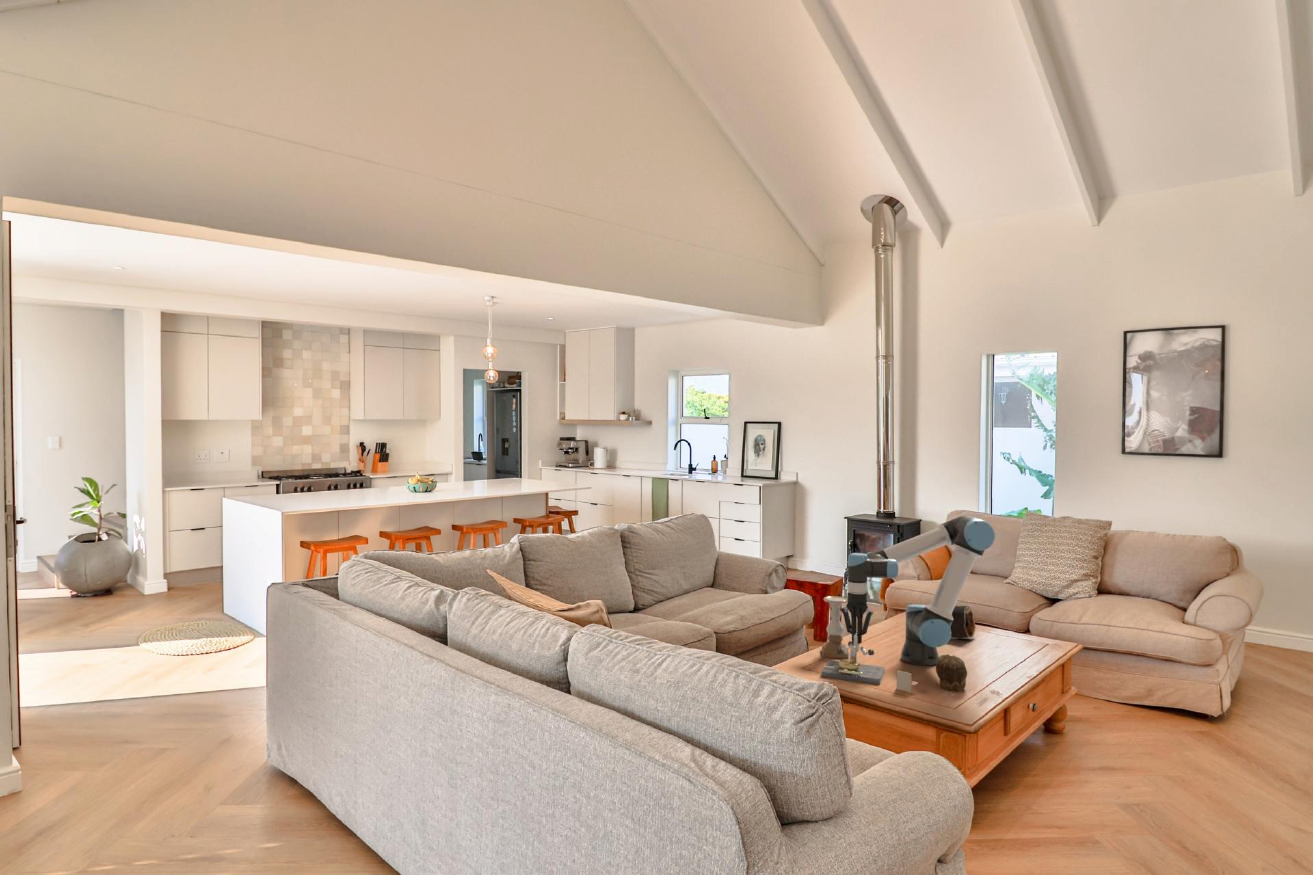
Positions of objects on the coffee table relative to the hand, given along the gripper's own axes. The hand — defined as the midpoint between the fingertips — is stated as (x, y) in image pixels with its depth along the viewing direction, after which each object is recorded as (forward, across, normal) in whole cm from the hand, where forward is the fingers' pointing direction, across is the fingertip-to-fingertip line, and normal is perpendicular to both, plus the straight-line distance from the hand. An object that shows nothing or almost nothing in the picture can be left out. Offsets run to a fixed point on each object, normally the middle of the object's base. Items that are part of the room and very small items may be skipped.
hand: (856, 651), depth 313 cm
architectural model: (+9, -23, +11) cm, 27 cm away
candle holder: (+7, +15, -15) cm, 23 cm away
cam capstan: (+5, 0, +5) cm, 7 cm away
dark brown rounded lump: (+8, -36, -2) cm, 37 cm away
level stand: (+8, -1, +6) cm, 10 cm away
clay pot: (+7, -14, -74) cm, 76 cm away
